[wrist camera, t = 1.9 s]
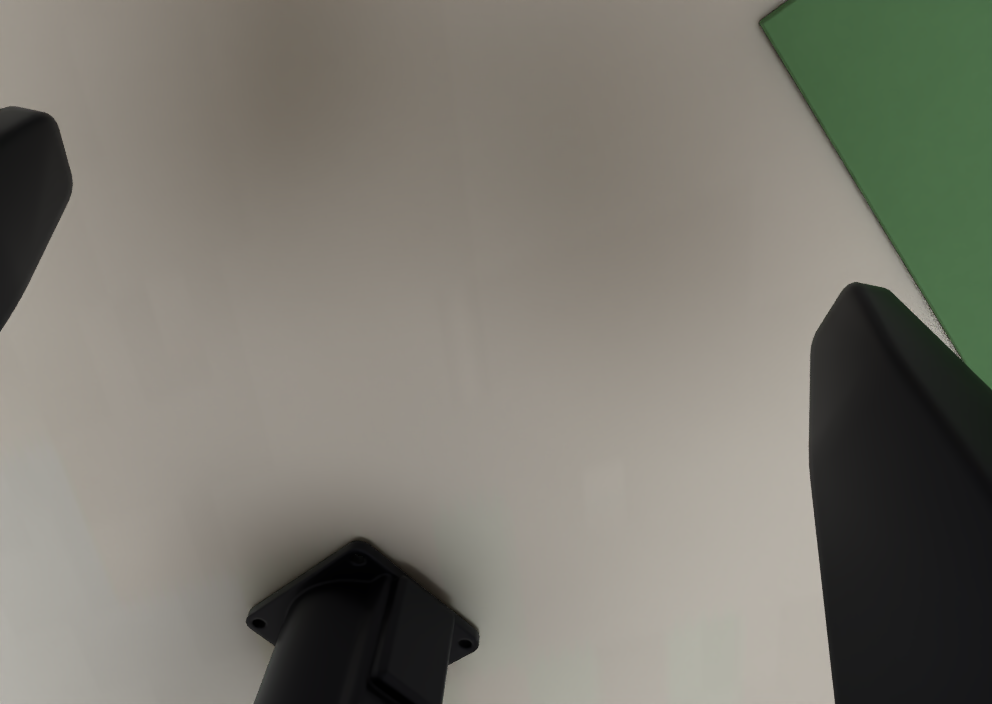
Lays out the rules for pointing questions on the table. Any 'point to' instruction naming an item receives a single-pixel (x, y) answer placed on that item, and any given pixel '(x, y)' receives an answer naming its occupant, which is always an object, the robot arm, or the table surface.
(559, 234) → the table surface
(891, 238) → the green cloth
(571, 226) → the table surface
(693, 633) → the table surface
